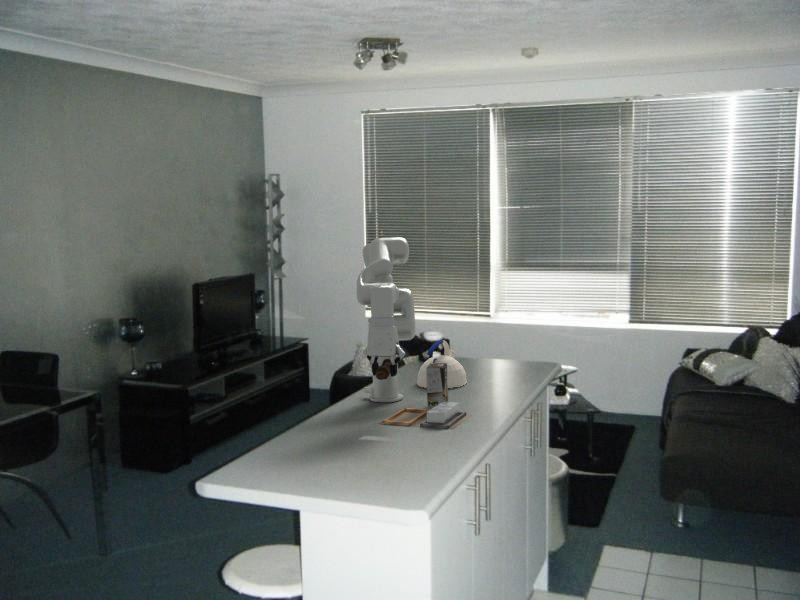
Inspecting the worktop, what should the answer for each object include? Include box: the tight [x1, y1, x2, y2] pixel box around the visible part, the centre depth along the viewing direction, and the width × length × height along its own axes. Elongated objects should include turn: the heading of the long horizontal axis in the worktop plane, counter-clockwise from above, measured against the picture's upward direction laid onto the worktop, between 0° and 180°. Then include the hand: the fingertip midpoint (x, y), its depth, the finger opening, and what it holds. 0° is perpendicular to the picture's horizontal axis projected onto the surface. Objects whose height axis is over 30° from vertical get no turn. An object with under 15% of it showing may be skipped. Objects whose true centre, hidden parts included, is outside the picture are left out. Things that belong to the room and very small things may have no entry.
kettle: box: [416, 339, 468, 389], centre depth 328 cm, size 20×21×18 cm
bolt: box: [376, 358, 399, 380], centre depth 272 cm, size 6×5×15 cm
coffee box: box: [426, 363, 449, 410], centre depth 284 cm, size 9×6×16 cm
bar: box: [427, 401, 461, 425], centre depth 265 cm, size 6×15×4 cm, turn 157°
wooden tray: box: [378, 407, 472, 430], centre depth 268 cm, size 26×18×2 cm
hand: (384, 374), depth 272 cm, fingers closed on bolt, 6 cm apart
